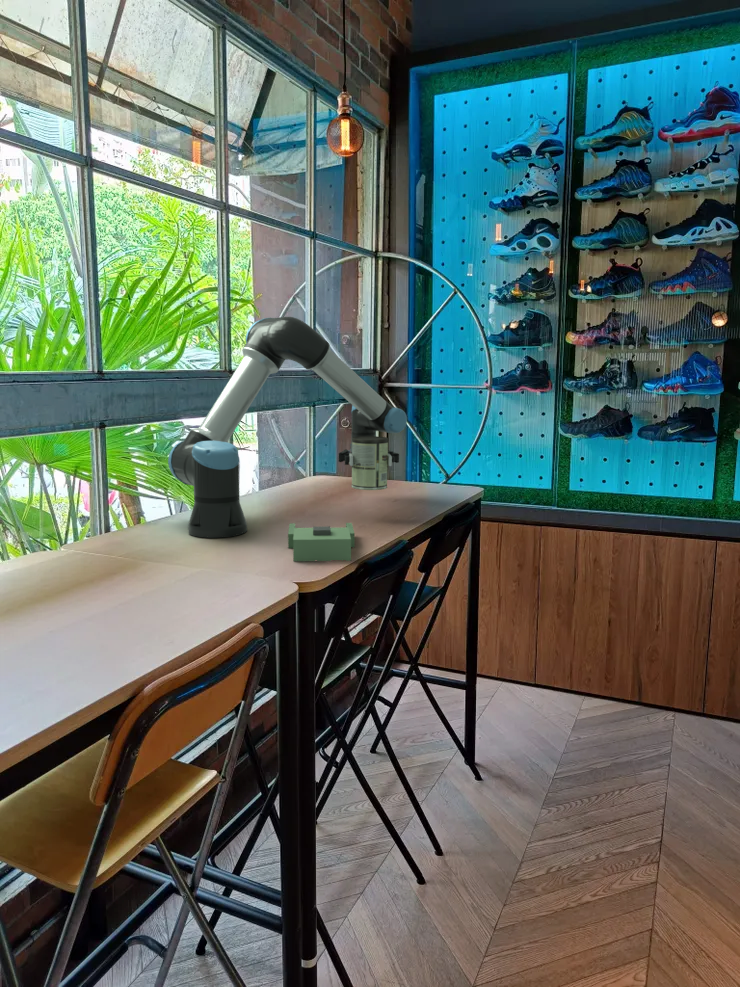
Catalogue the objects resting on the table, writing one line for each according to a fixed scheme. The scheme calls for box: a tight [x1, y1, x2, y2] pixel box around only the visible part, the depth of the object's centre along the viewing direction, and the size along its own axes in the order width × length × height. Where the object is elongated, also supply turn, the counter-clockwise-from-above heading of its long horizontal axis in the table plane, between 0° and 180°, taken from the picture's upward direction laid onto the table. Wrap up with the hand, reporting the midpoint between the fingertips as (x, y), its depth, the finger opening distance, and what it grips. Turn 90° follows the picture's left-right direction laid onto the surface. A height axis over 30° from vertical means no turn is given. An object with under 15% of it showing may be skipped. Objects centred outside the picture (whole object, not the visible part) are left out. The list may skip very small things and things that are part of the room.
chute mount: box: [287, 522, 356, 562], centre depth 178 cm, size 16×24×6 cm, turn 5°
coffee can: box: [351, 435, 389, 491], centre depth 208 cm, size 10×10×14 cm
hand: (371, 461), depth 204 cm, fingers closed on coffee can, 10 cm apart
